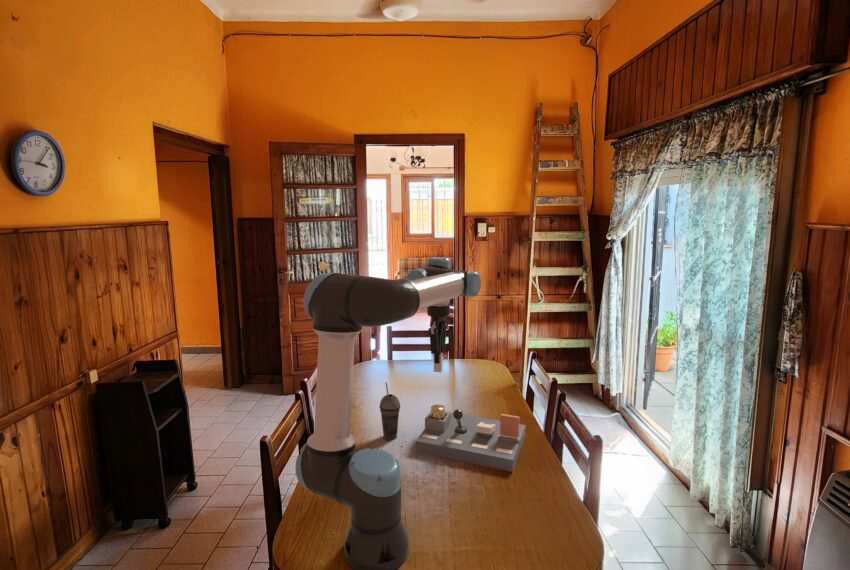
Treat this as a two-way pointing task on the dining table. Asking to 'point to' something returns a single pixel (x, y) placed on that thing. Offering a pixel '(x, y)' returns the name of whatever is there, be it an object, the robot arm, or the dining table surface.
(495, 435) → the console
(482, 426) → the block
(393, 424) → the beverage cup
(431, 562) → the dining table surface
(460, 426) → the toggle lever
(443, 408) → the push button
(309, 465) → the robot arm
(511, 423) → the red square plate
